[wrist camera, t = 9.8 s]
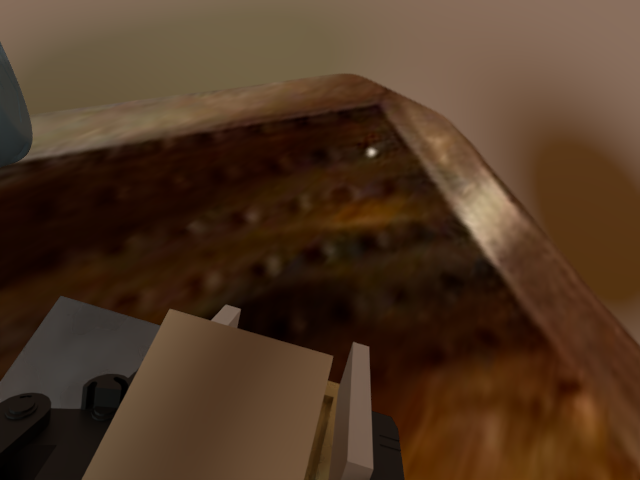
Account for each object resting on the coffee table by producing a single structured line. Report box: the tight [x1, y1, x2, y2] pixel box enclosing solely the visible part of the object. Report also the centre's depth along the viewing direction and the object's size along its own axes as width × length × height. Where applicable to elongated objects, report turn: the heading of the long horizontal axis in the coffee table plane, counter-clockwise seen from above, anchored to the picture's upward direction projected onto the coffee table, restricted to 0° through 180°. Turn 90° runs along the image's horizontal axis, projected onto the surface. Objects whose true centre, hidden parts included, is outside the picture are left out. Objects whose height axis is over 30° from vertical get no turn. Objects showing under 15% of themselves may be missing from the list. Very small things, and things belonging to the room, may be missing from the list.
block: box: [82, 309, 333, 480], centre depth 15 cm, size 4×4×18 cm
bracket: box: [0, 296, 340, 480], centre depth 22 cm, size 18×9×13 cm, turn 75°
